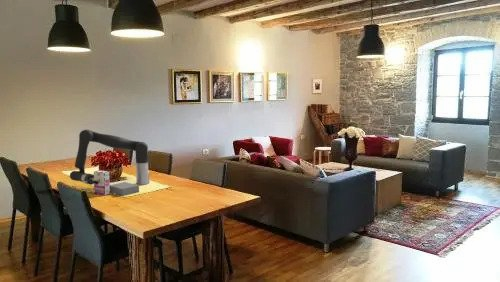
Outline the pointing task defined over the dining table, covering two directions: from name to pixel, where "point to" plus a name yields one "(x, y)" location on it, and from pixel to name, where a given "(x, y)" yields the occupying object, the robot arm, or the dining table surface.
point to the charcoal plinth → (124, 188)
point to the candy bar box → (102, 182)
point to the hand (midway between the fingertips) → (101, 182)
